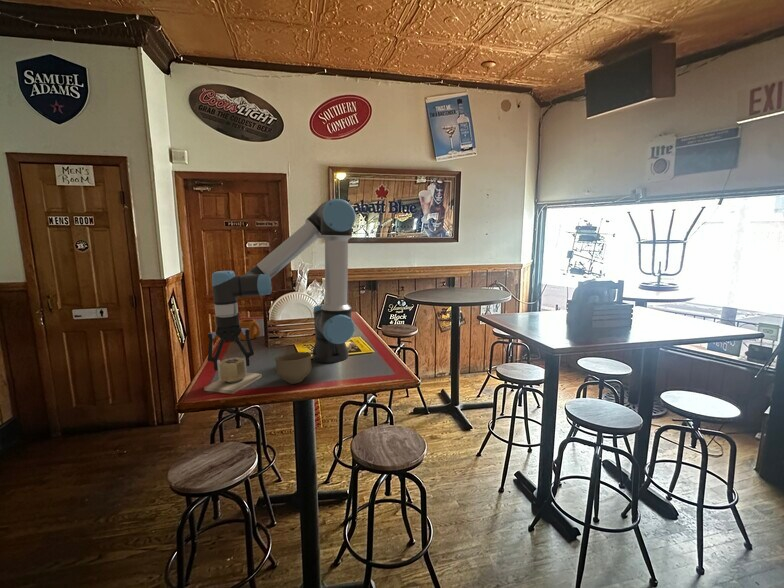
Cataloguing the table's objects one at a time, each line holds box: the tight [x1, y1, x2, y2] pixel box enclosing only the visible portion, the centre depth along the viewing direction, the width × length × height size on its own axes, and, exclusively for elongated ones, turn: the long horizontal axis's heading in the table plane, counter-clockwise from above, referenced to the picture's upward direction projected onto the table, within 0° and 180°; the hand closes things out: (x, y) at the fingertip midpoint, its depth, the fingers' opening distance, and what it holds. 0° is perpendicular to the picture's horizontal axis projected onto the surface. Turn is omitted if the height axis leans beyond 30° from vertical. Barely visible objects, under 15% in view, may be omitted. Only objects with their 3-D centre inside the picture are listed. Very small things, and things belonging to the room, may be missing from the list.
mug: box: [238, 318, 261, 341], centre depth 209 cm, size 9×12×9 cm
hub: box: [203, 360, 263, 395], centre depth 147 cm, size 12×16×8 cm
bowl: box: [274, 351, 313, 385], centre depth 147 cm, size 13×13×10 cm
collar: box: [220, 356, 245, 382], centre depth 147 cm, size 8×8×6 cm
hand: (233, 376), depth 148 cm, fingers closed on collar, 8 cm apart
